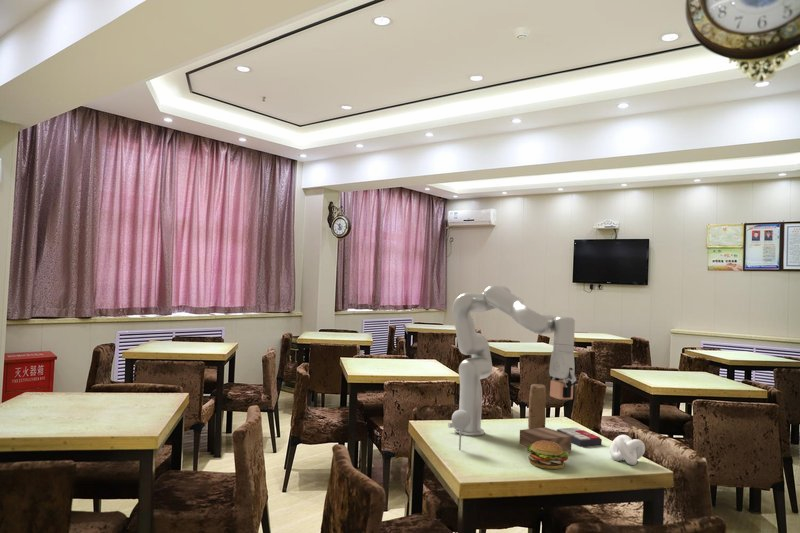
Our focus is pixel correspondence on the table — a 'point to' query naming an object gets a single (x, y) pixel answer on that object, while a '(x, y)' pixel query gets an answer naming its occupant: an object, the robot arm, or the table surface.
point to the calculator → (581, 437)
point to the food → (547, 455)
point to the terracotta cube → (558, 389)
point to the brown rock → (537, 406)
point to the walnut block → (545, 437)
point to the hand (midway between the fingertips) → (561, 395)
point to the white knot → (627, 449)
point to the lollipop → (460, 421)
